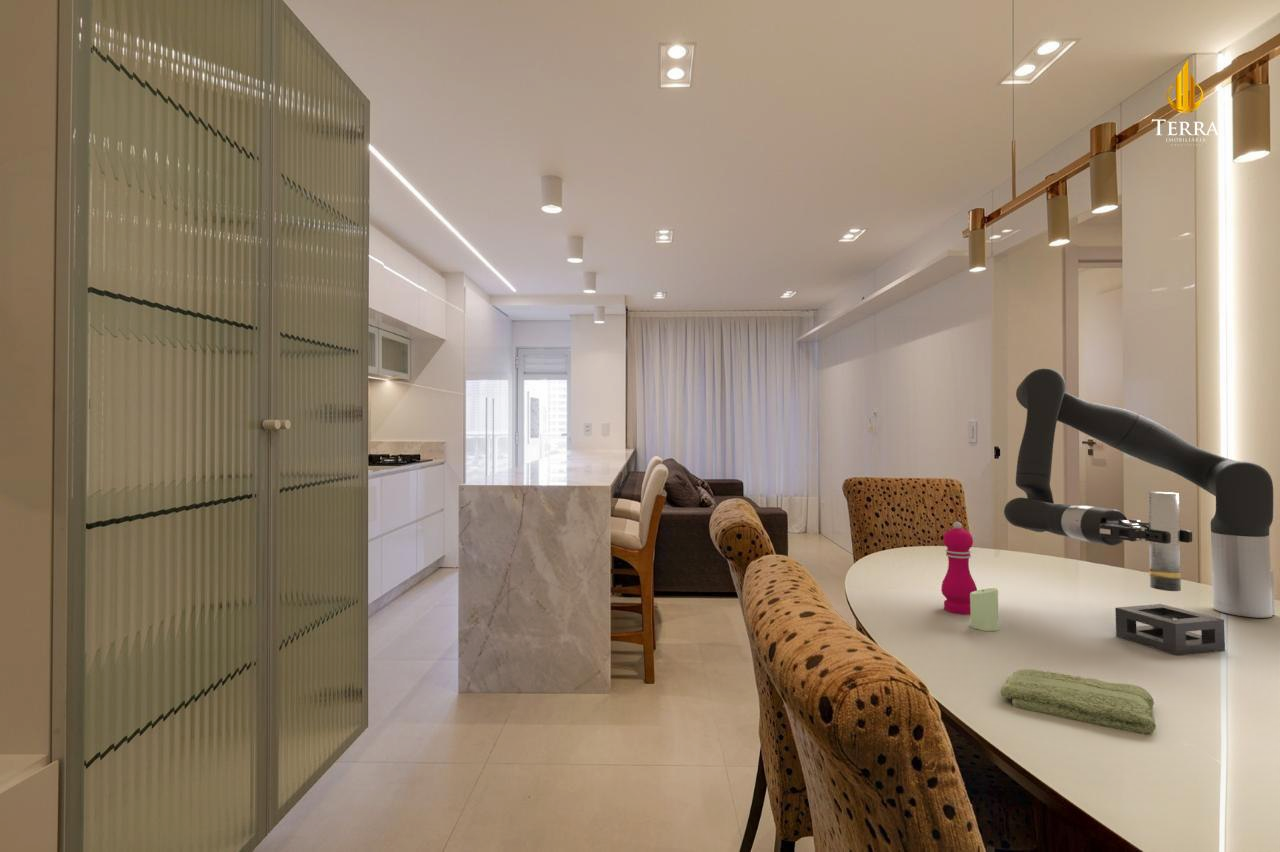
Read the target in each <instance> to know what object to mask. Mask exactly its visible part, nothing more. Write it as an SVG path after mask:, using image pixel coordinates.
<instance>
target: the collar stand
mask: <svg viewBox="0 0 1280 852" xmlns="http://www.w3.org/2000/svg"><path fill="white" fill-rule="evenodd" d="M1114 609H1115V636H1116V637H1118V638H1121V639H1124V640H1128V641H1130V642H1134V643H1137V644H1140V645H1143V646H1147V647H1150V648H1152V647H1153V648H1152V649H1155V648H1156V650H1158V649H1159V651H1163V652H1165V653H1167V654H1170V655H1175V656H1181V655H1182V656H1183V655H1193V654H1200V653H1201V654H1203V653H1211V652H1222V651H1223V652H1224V651H1225V650H1226V647H1225V646H1226V645H1225V644H1226V642H1225V640H1226V639H1225V635H1226V634H1225V620H1224V619H1223V618H1219V617H1214V616H1210V615H1206V614H1202V613H1198V612H1194V611H1190V610H1186V609H1182V608H1178V607H1175V606H1170V605H1167V604H1161V603H1156V604H1155V603H1154V604H1144V605H1133V606H1131V605H1130V606H1120V607H1119V606H1117V607H1115V608H1114ZM1137 622H1138V623H1142V624H1145V625H1137ZM1195 631H1200V633H1201V634H1197V633H1195ZM1161 637H1162V638H1161Z"/></svg>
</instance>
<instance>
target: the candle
mask: <svg viewBox="0 0 1280 852" xmlns="http://www.w3.org/2000/svg"><path fill="white" fill-rule="evenodd" d="M970 613H971V614H970V627H972V628H973V629H975V630H979V631H983V632H996V631H999V627H1000V626H999V625H1000V624H999V622H1000V621H999V619H1000V617H999V589H998V588H996V587H993V588H991V587H990V588H984V589H977V591H974V592H971V593H970Z"/></svg>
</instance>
